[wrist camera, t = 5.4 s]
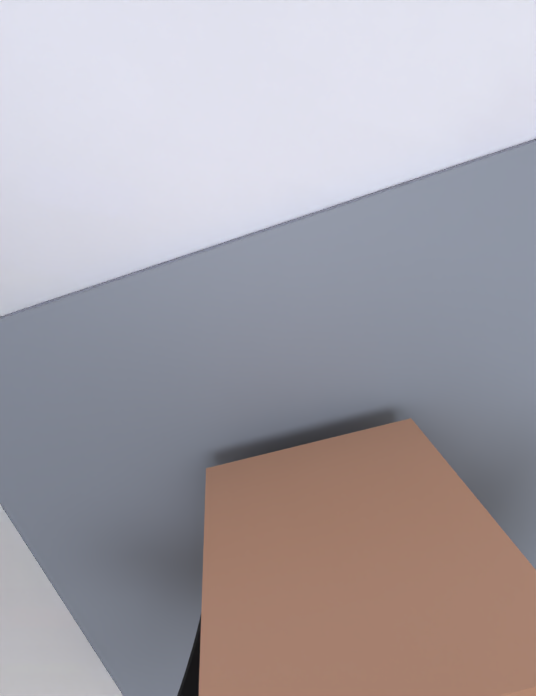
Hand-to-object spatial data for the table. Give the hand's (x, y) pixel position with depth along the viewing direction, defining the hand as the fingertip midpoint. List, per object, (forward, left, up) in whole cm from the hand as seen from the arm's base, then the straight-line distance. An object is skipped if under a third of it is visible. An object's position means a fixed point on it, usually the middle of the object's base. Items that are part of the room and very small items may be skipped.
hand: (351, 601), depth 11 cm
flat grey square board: (0, 0, -4) cm, 4 cm away
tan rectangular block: (0, 0, -2) cm, 2 cm away
